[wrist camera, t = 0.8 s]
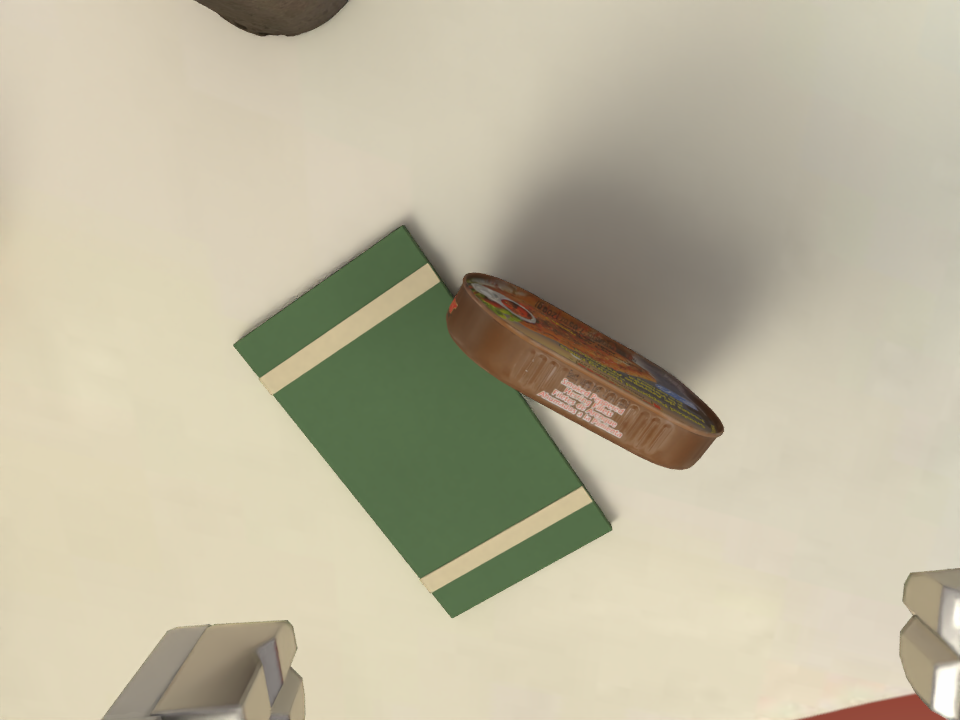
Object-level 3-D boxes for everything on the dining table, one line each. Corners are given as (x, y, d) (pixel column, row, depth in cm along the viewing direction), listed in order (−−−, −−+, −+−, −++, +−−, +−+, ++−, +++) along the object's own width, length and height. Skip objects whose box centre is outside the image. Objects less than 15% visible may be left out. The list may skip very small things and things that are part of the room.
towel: (403, 224, 34) (401, 225, 33) (611, 524, 39) (613, 531, 38) (236, 342, 36) (231, 345, 36) (452, 612, 41) (451, 620, 40)
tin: (698, 388, 36) (756, 449, 28) (667, 431, 37) (714, 503, 29) (471, 258, 34) (463, 283, 26) (444, 307, 35) (427, 346, 27)
